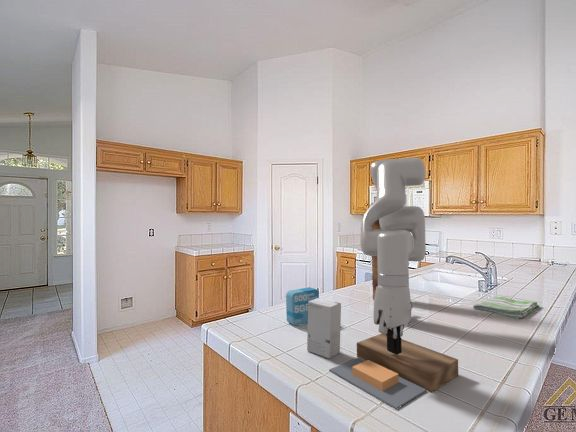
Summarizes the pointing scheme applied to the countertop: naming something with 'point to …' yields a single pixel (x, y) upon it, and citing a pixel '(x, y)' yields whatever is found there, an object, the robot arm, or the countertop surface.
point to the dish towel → (507, 307)
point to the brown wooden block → (410, 362)
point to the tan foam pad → (375, 375)
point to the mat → (390, 396)
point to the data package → (299, 304)
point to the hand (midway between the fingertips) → (394, 351)
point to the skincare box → (324, 327)
